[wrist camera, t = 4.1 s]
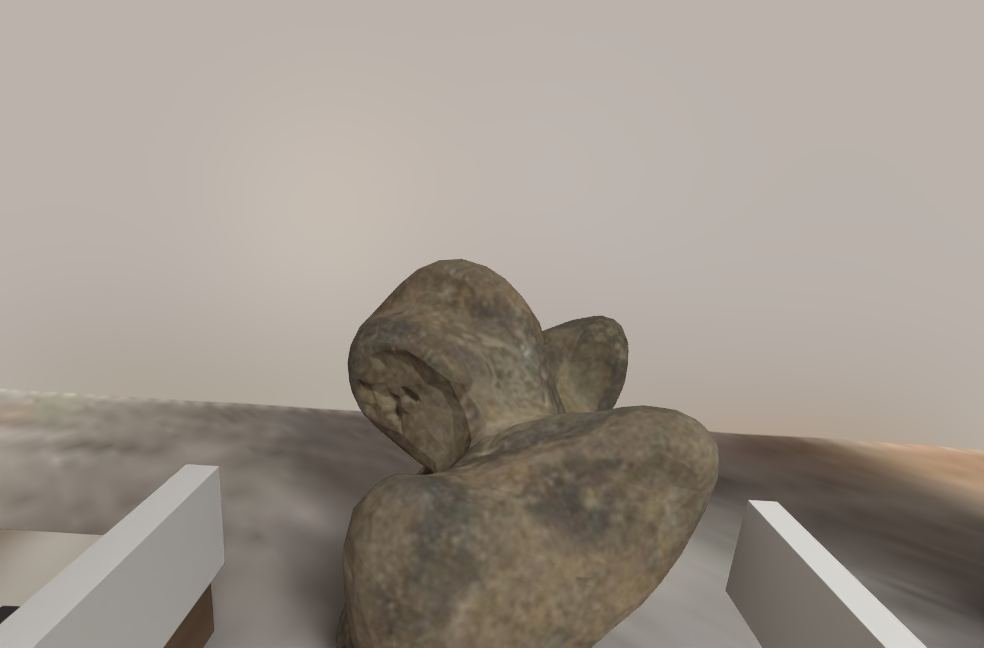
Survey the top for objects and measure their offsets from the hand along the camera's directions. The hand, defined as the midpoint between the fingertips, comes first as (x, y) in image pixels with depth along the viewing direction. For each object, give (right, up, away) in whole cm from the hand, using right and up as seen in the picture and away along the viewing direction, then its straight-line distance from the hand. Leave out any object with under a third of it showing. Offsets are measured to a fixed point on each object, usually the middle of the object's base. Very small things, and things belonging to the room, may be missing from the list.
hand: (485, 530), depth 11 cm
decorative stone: (0, -8, +7) cm, 10 cm away
